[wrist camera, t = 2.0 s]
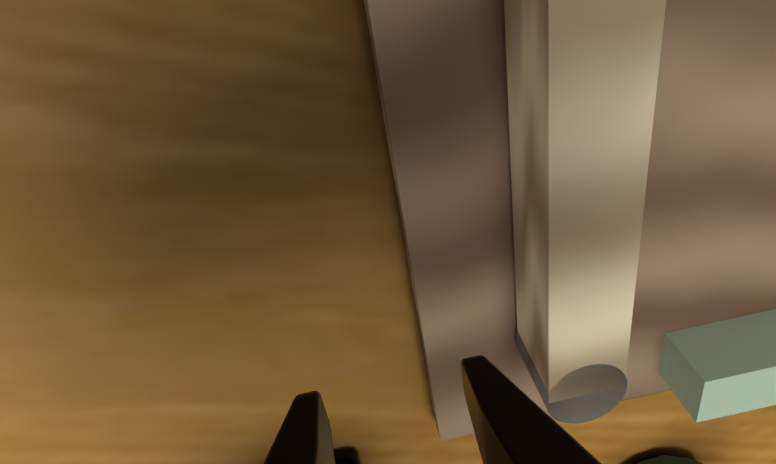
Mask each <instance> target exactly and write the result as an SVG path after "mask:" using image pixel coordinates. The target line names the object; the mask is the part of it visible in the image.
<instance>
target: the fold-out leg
mask: <svg viewBox="0 0 776 464" xmlns="http://www.w3.org/2000/svg"><path fill="white" fill-rule="evenodd" d="M665 7H666V0H504V13H505V38H506V62H507V86H508V111H509V135H510V159H511V184H512V208H513V232H514V256H515V281H516V305H517V329H518V331H517V334H516V345H517V348H518V350H519V352H520V354H521V356H522V358H523V360H524V363H525V365H526V367H527V369H528V371H529V373H530V375H531V377H532V379H533V381H534V383H535V386H536V388H537V390H538V392H539V394H540V396H541V398H542V400H543V402H544V404H545V406H546V409H547V411H548V412H549V414H550V415H551V416H552V417H553V418H554V419H556V420H558V421H561V422H565V423H582V422H587V421H591V420H593V419H596V418H598V417H601V416H602V415H604V414H606V413H607V412H609V411H610V410H612V409H613V408H614V407H615V406H616V405H617V404H618V403H619V402H620V401H621V400H622V398H623V397H624V395H625V393H626V390H627V378H626V371H627V361H628V352H629V343H630V333H631V324H632V315H633V305H634V296H635V287H636V278H637V268H638V259H639V250H640V240H641V231H642V222H643V212H644V203H645V194H646V184H647V175H648V166H649V156H650V147H651V138H652V128H653V119H654V110H655V100H656V91H657V82H658V72H659V63H660V54H661V44H662V35H663V26H664V16H665Z"/></svg>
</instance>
